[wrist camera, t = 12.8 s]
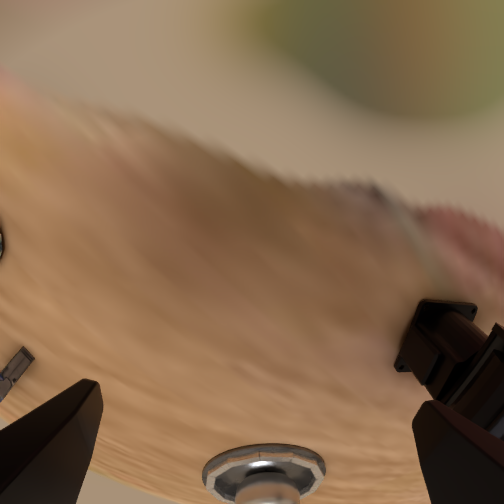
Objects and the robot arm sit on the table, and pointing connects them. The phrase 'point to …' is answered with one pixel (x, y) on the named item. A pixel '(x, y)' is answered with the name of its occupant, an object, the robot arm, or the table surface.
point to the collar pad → (262, 468)
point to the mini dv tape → (14, 371)
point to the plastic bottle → (267, 489)
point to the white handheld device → (0, 245)
